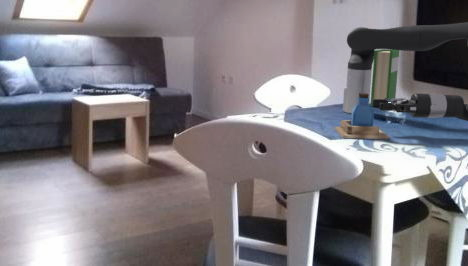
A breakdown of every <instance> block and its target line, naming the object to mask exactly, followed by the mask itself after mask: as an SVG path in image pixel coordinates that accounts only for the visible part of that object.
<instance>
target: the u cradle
mask: <svg viewBox="0 0 468 266" xmlns="http://www.w3.org/2000/svg"><path fill="white" fill-rule="evenodd" d="M334 131H336V132H337V134H338V135H340V136H341V138H343V139H366V140H367V139H369V140H370V139H371V140H372V139H373V140H374V139H375V140H390V136H389V135H388V134H387V133H385V131H383V130H381V129H380V126H378V125H376V126H374V125H373V126H351V119H350V120H347V119H346V120H345V119H341V120H340V126H334Z"/></svg>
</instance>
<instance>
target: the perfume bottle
mask: <svg viewBox="0 0 468 266" xmlns="http://www.w3.org/2000/svg"><path fill="white" fill-rule="evenodd" d="M368 96H369V94H368V93H359V97H358V101H359V103H356V104H355V106H354V107H353V109H352V113H351V115H350V116H351V118H350V120H351V126H374V118H375V117H374V115H375V113H374V111H373V107H371V106H370V104H371V103H369V104H368V101H369V102H370V99H369V98H368Z"/></svg>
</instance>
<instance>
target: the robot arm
mask: <svg viewBox="0 0 468 266" xmlns="http://www.w3.org/2000/svg"><path fill="white" fill-rule="evenodd" d="M452 40H455V41H456V40H466V43H467V44H466V45H467V46H468V21H467V22H458V23H457V22H456V23H448V24H433V25H431V24H427V25H425V24H424V25H419V24H418V25H406V26H398V27H391V28H368V27H361V26H360V27H355V28H354V29H352V30H351V31H350V32H348V35H347V37H346V43H347V45H348V47H349V49H350V56H349V57H350V58H349V59H348V62H347V71H346V72H347V75H346V87H344V88H343V100H342V101H343V102H342V112H345V113H348V114H352V109H353V107H354V106H355V104H356V103H359V101H358V97H359V93H368V94H369V96H368V98H369V101H368V104H370V100H371V86H372V73H373V65H374V52H375V50H382V49H387V50H399V51H404V52H406V51H407V52H426V51H430V50H432V49H436V48H437V47H439V46H442V45H443V44H445V43H447V42H450V41H452ZM388 101H391V103H388ZM372 105H373V107H379V110H380V111H389V112H390V111H391V112H395V113H398V114H400V113H409V114H410V116H411V117H413V118H423V119H426V118H427V119H432V118H433V119H434V118H435V119H436V118H437V119H438V118H456V119H459V120H462V121H466V122H468V103H465V101H464V98H463V97H462V96H461V95H457V94H439V93H413V94H412V95H411V96H410V98H409V99H407V98H406V97H405V98H404V97H400V98H398V97H395V98H385V99H373V101H372Z"/></svg>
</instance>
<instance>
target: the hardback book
mask: <svg viewBox="0 0 468 266" xmlns="http://www.w3.org/2000/svg"><path fill="white" fill-rule="evenodd" d="M399 57H400V50H391V49H375V52H374V60H373V64H372V77H371V90H370V103H369V104H370V106H371V108H373V107H374V106H373V105H372V101H373V99H385V98H396V95H397V94H396V93H397V83H398V73H399V72H398V71H399V59H400V58H399ZM388 102H391V101H388Z"/></svg>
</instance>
